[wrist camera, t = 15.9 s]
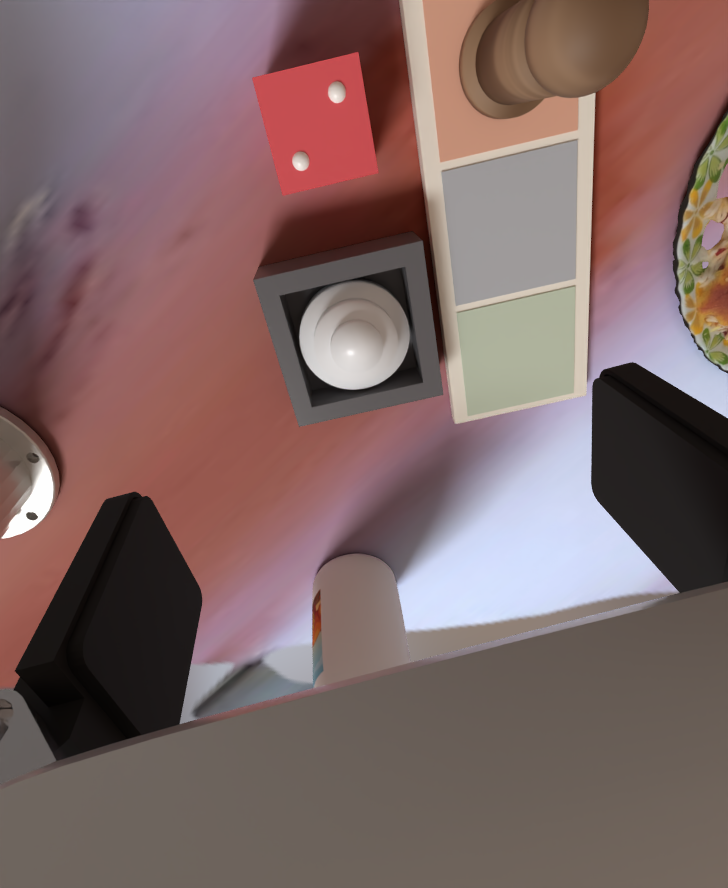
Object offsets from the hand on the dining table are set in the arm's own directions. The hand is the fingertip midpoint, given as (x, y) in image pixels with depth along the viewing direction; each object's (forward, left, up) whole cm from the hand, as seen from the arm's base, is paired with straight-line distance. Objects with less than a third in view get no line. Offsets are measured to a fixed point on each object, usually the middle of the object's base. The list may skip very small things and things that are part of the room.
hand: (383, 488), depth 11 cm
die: (0, +7, -26) cm, 26 cm away
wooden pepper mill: (+11, +8, -24) cm, 28 cm away
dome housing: (0, -5, -26) cm, 26 cm away
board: (+11, -1, -26) cm, 28 cm away
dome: (0, -5, -24) cm, 24 cm away
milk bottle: (-5, -29, -26) cm, 39 cm away
